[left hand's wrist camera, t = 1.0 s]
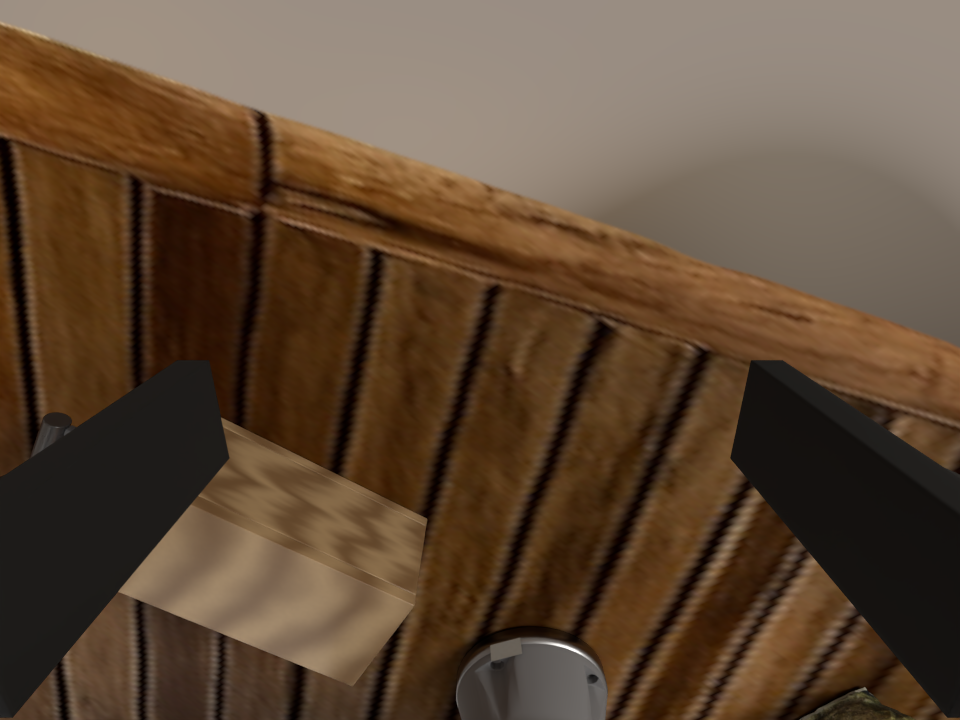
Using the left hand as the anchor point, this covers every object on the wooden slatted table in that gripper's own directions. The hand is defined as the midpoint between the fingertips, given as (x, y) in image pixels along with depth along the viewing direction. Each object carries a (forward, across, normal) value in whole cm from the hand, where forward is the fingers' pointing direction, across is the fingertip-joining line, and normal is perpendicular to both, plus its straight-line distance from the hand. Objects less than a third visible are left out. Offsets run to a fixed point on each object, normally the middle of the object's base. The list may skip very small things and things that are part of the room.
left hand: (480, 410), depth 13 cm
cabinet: (+26, +16, +23) cm, 38 cm away
